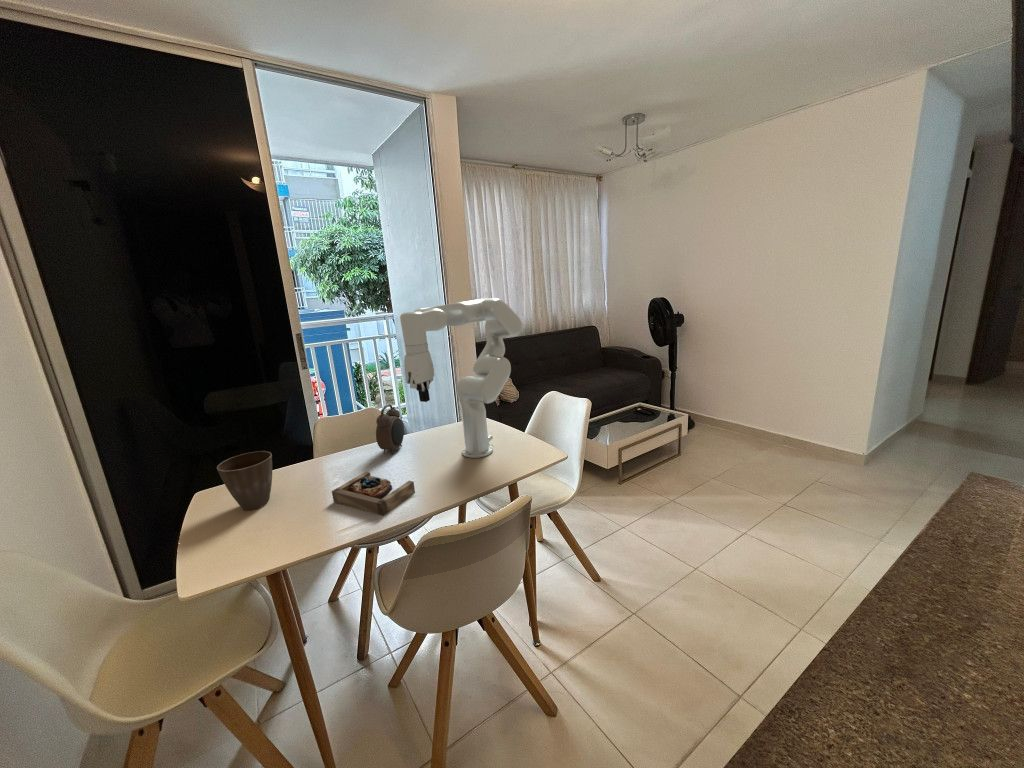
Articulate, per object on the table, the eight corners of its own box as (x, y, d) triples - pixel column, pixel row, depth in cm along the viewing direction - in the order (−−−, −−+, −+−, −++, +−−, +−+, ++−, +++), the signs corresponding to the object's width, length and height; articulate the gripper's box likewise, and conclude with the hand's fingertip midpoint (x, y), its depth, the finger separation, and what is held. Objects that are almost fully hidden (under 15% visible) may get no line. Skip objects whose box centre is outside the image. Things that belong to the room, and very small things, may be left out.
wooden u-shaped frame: (367, 481, 140) (365, 471, 139) (415, 492, 130) (413, 481, 129) (333, 502, 127) (331, 491, 126) (383, 515, 117) (381, 504, 116)
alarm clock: (394, 457, 159) (387, 411, 154) (377, 457, 160) (370, 411, 155) (408, 443, 173) (402, 400, 168) (393, 443, 174) (387, 400, 169)
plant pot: (236, 499, 134) (225, 456, 130) (285, 488, 139) (275, 447, 135) (222, 522, 120) (209, 475, 116) (277, 509, 125) (265, 464, 121)
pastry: (372, 483, 139) (369, 468, 137) (397, 489, 133) (394, 473, 132) (347, 498, 129) (343, 482, 128) (372, 505, 124) (369, 489, 122)
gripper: (423, 344, 138) (430, 393, 143) (392, 353, 126) (401, 407, 131) (439, 344, 135) (446, 395, 139) (409, 354, 122) (418, 408, 127)
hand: (424, 400), depth 135 cm, fingers closed
